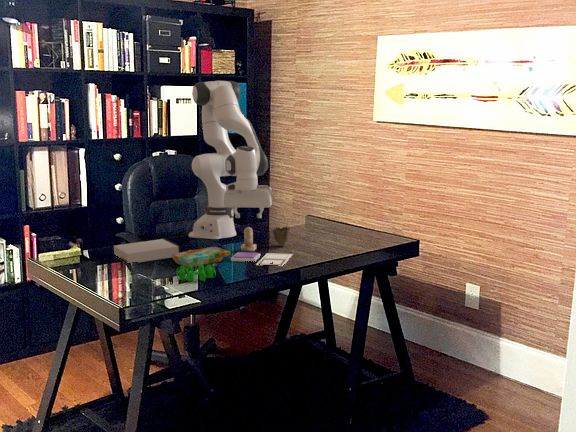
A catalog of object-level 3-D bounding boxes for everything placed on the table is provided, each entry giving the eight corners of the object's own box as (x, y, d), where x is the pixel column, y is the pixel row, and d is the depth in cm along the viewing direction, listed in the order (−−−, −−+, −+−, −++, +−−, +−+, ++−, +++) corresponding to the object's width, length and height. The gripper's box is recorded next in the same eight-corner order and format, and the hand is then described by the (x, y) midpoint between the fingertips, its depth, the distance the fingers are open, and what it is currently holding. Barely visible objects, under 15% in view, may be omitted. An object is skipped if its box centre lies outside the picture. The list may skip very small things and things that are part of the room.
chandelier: (224, 279, 237) (223, 261, 236) (185, 286, 229) (184, 267, 228) (205, 270, 249) (205, 253, 248) (168, 277, 241) (168, 258, 240)
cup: (290, 244, 290) (290, 226, 288) (289, 248, 282) (288, 229, 281) (273, 244, 290) (273, 226, 289) (271, 247, 283) (271, 229, 282)
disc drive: (180, 257, 272) (180, 245, 271) (128, 265, 260) (127, 253, 259) (164, 249, 286) (164, 238, 285) (114, 256, 274) (113, 245, 274)
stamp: (241, 251, 278) (240, 228, 276) (243, 249, 282) (243, 225, 280) (254, 252, 277) (253, 228, 275) (256, 249, 281) (256, 226, 279)
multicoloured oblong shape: (171, 252, 259) (214, 244, 272) (172, 263, 260) (215, 255, 272) (186, 257, 250) (230, 249, 263) (187, 269, 251) (230, 260, 263)
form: (255, 265, 255) (255, 264, 255) (266, 253, 273) (266, 252, 273) (283, 266, 253) (283, 265, 253) (292, 254, 271) (292, 253, 271)
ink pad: (230, 260, 262) (230, 256, 262) (237, 255, 271) (236, 251, 270) (255, 261, 260) (254, 257, 260) (260, 256, 269) (260, 252, 268)
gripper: (273, 184, 275) (274, 216, 277) (226, 184, 279) (227, 216, 281) (269, 186, 269) (270, 219, 271) (221, 186, 273) (223, 218, 275)
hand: (248, 217), depth 276 cm, fingers open, 8 cm apart
